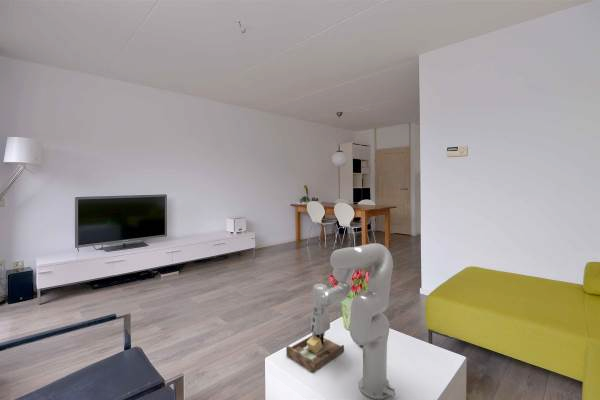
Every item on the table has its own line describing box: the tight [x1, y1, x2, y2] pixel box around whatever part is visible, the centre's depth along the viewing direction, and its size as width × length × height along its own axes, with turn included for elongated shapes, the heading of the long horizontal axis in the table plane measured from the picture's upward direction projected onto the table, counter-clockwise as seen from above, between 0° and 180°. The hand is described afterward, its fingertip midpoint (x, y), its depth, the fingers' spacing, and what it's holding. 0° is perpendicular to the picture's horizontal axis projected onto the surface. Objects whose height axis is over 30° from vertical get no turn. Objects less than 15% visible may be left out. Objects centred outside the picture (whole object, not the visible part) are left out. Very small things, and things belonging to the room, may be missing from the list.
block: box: [307, 335, 323, 354], centre depth 139 cm, size 5×5×5 cm
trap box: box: [285, 335, 345, 374], centre depth 140 cm, size 18×23×5 cm
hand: (320, 344), depth 143 cm, fingers closed
